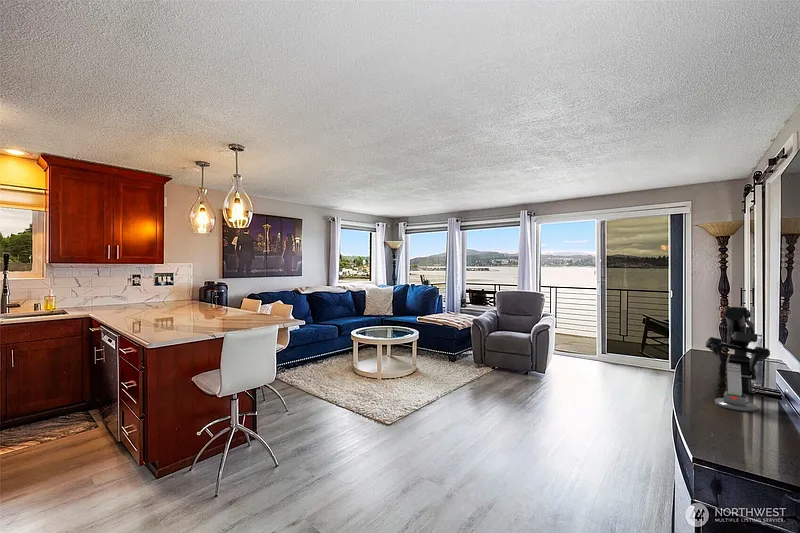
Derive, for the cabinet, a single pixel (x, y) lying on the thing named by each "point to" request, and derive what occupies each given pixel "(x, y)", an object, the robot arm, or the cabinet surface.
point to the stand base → (736, 403)
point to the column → (734, 379)
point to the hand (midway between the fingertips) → (736, 367)
